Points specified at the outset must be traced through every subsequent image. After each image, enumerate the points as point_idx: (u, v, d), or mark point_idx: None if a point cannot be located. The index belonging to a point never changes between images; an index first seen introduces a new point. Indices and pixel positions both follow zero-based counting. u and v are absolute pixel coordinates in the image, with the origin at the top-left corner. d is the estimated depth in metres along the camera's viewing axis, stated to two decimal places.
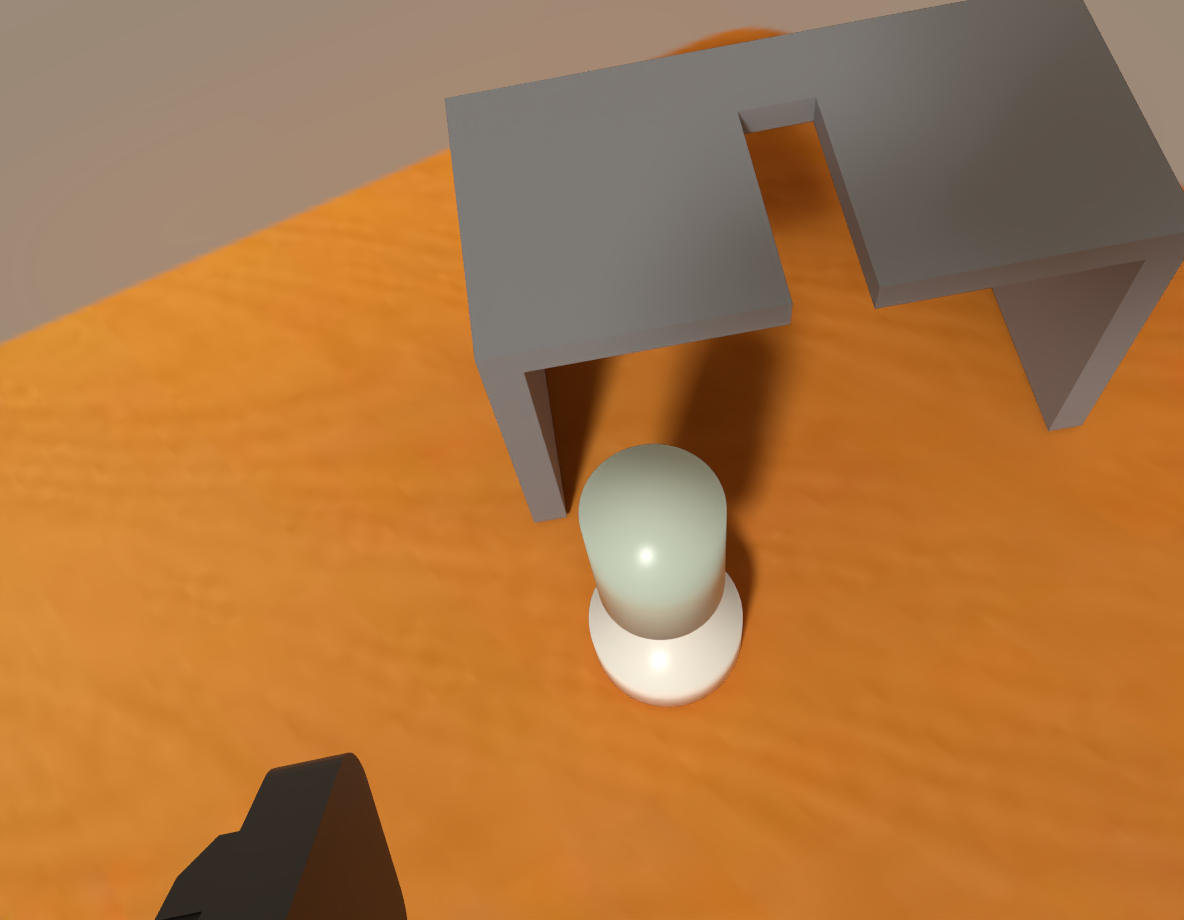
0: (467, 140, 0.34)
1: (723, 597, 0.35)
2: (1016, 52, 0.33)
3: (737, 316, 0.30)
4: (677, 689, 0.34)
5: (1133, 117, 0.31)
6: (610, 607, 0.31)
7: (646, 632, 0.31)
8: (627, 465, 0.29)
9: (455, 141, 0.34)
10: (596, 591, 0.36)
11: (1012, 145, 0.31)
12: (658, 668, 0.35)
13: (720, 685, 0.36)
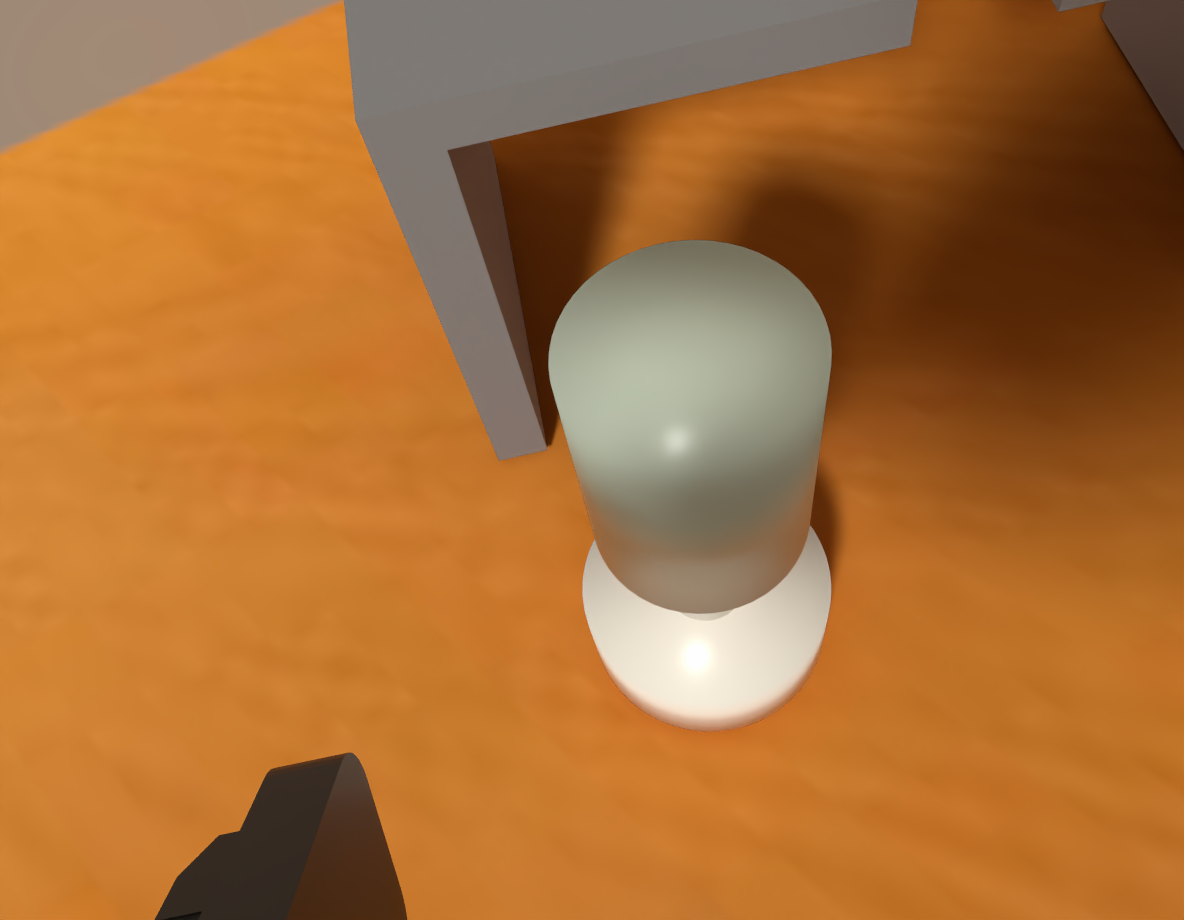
0: None
1: None
2: None
3: (820, 23, 0.17)
4: (732, 701, 0.21)
5: None
6: (616, 557, 0.17)
7: (681, 599, 0.18)
8: (637, 279, 0.15)
9: None
10: (593, 551, 0.23)
11: None
12: (698, 668, 0.21)
13: None
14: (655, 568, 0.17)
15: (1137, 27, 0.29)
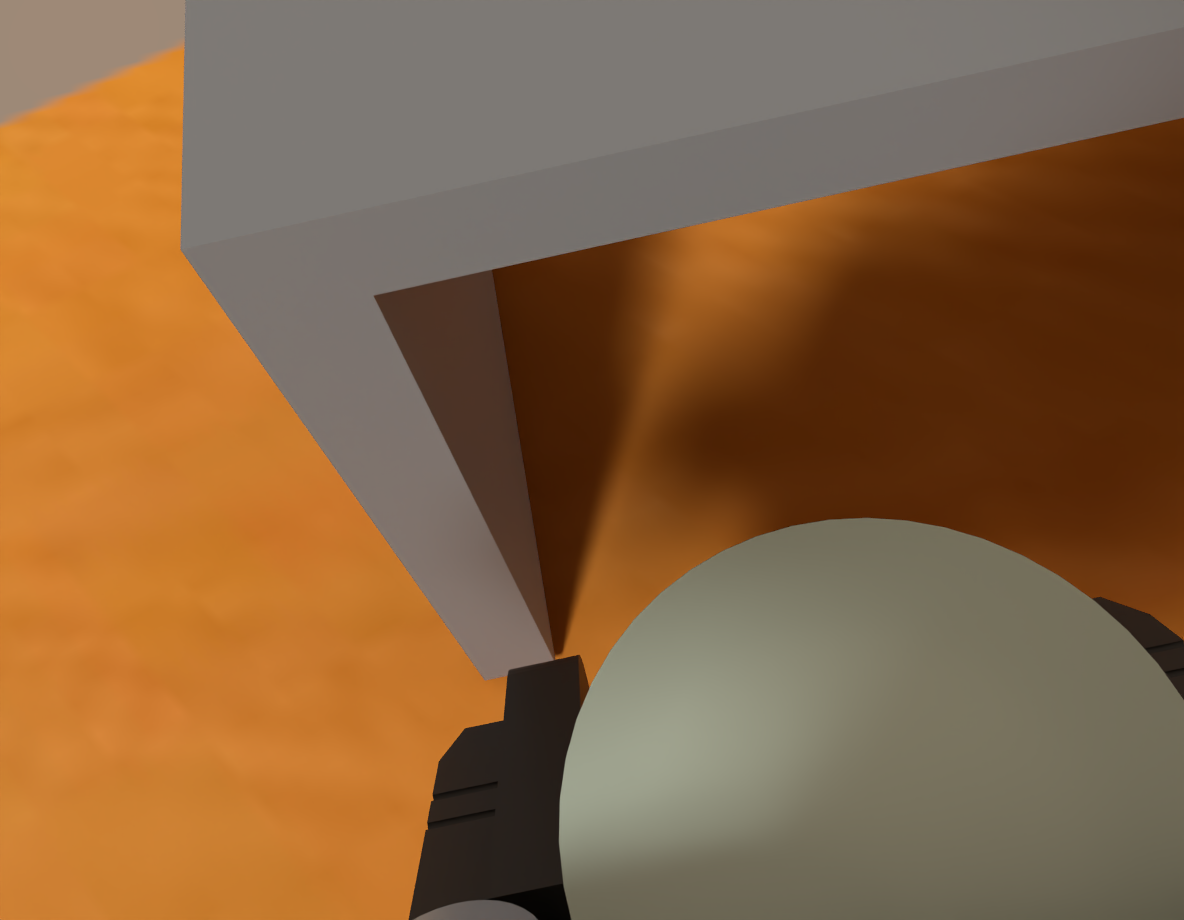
0: None
1: None
2: None
3: (1119, 57, 0.08)
4: None
5: None
6: None
7: None
8: (751, 613, 0.07)
9: None
10: None
11: None
12: None
13: None
14: None
15: None
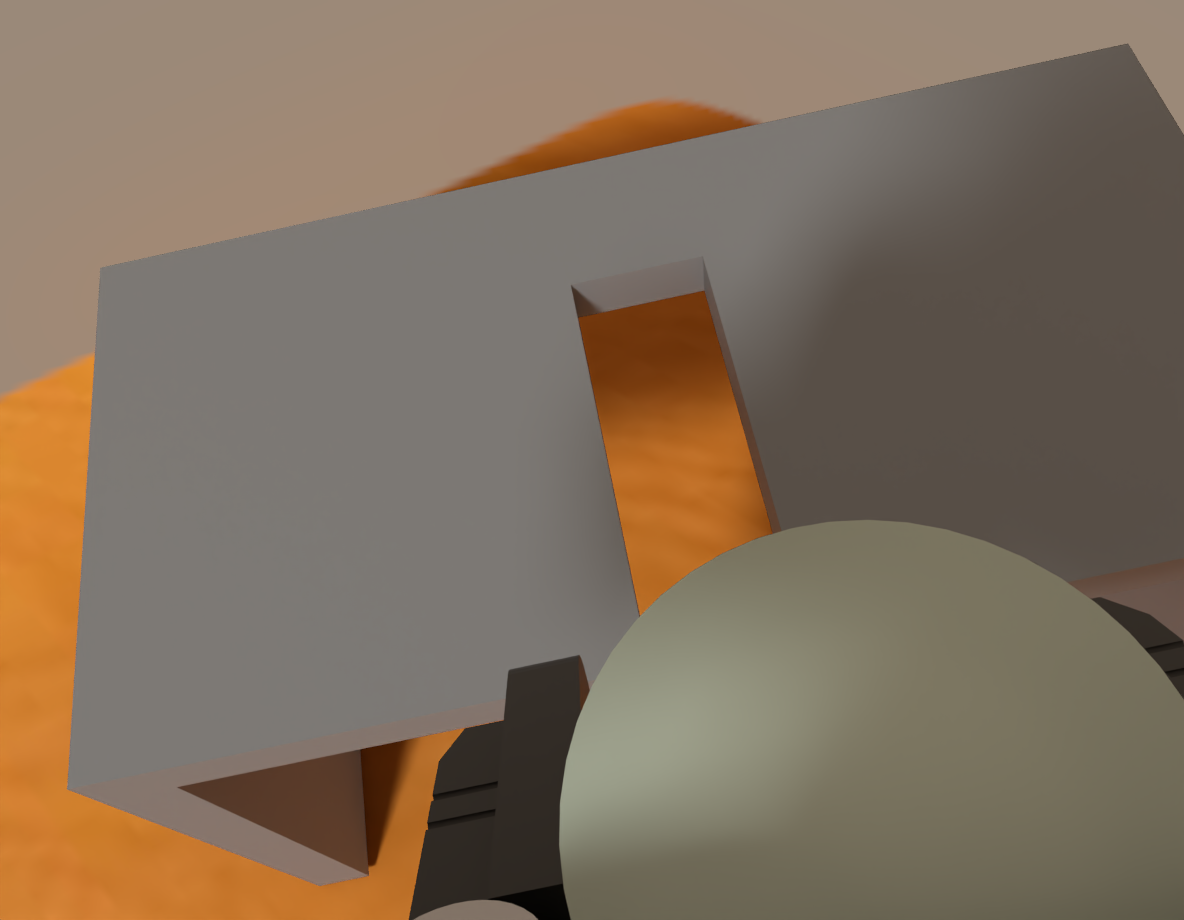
0: (124, 343, 0.20)
1: None
2: (1041, 170, 0.19)
3: None
4: None
5: None
6: None
7: None
8: (751, 615, 0.07)
9: (104, 345, 0.20)
10: None
11: (1044, 343, 0.18)
12: None
13: None
14: None
15: None
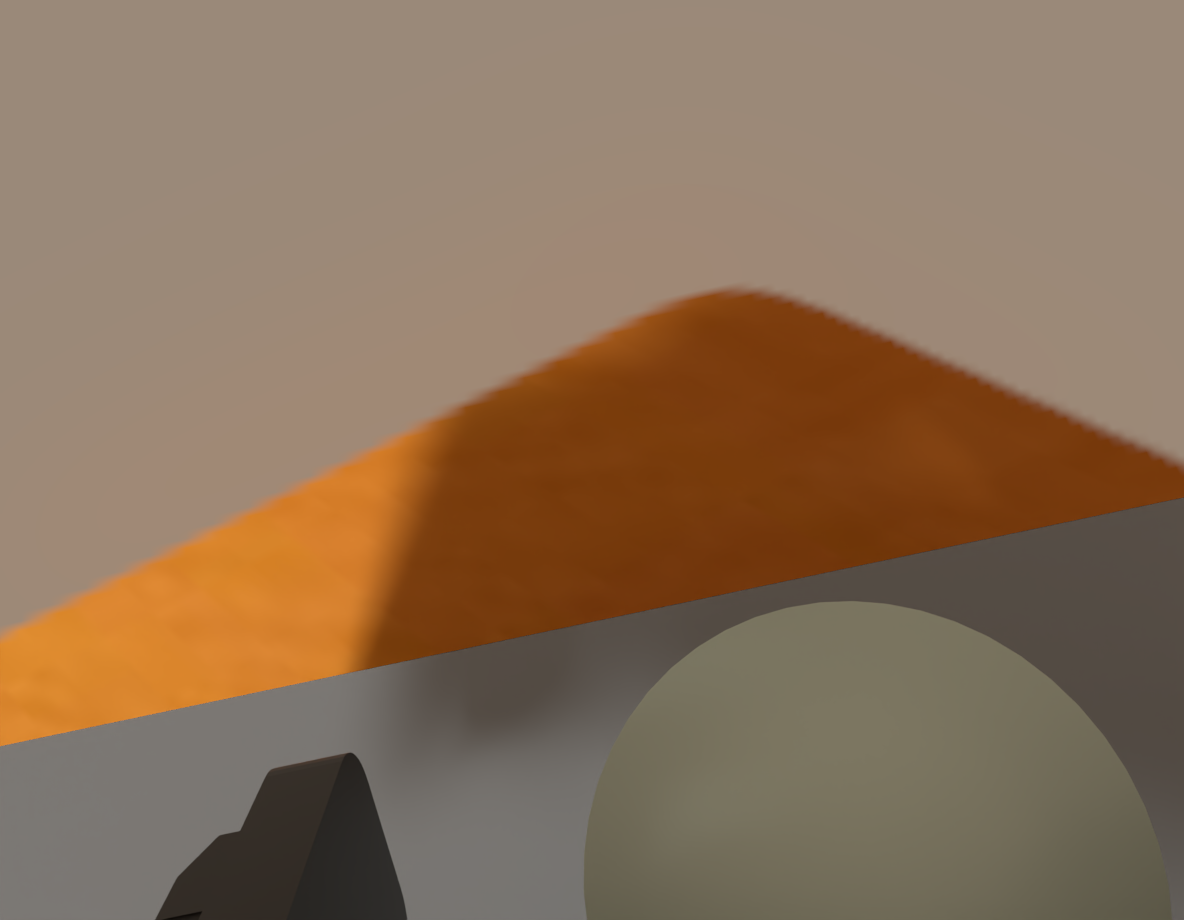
0: None
1: None
2: None
3: None
4: None
5: None
6: None
7: None
8: (750, 687, 0.08)
9: None
10: None
11: None
12: None
13: None
14: None
15: None
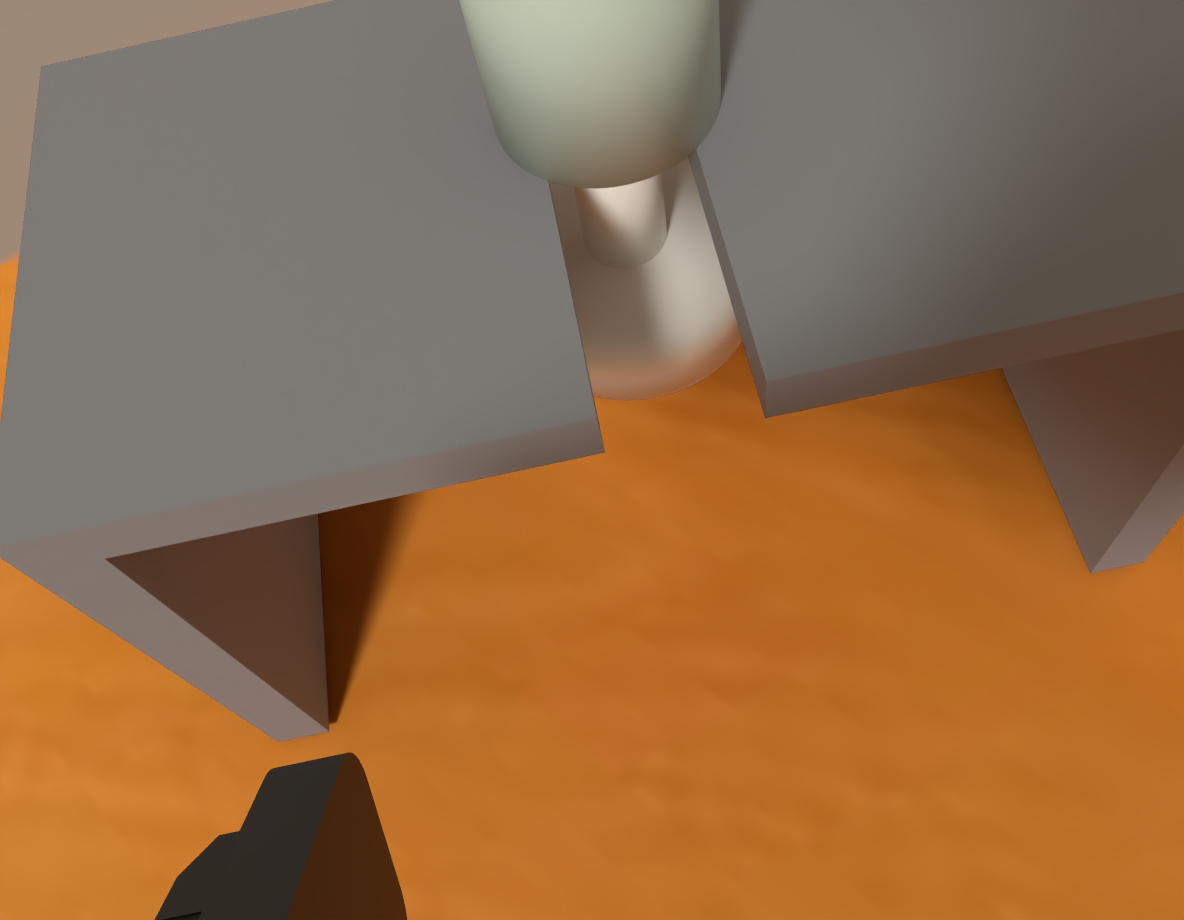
0: (62, 134, 0.19)
1: None
2: None
3: (493, 445, 0.15)
4: (650, 337, 0.20)
5: None
6: (508, 111, 0.16)
7: (579, 160, 0.17)
8: None
9: (42, 136, 0.19)
10: None
11: (1015, 103, 0.17)
12: (615, 310, 0.20)
13: (725, 360, 0.22)
14: (545, 104, 0.16)
15: None
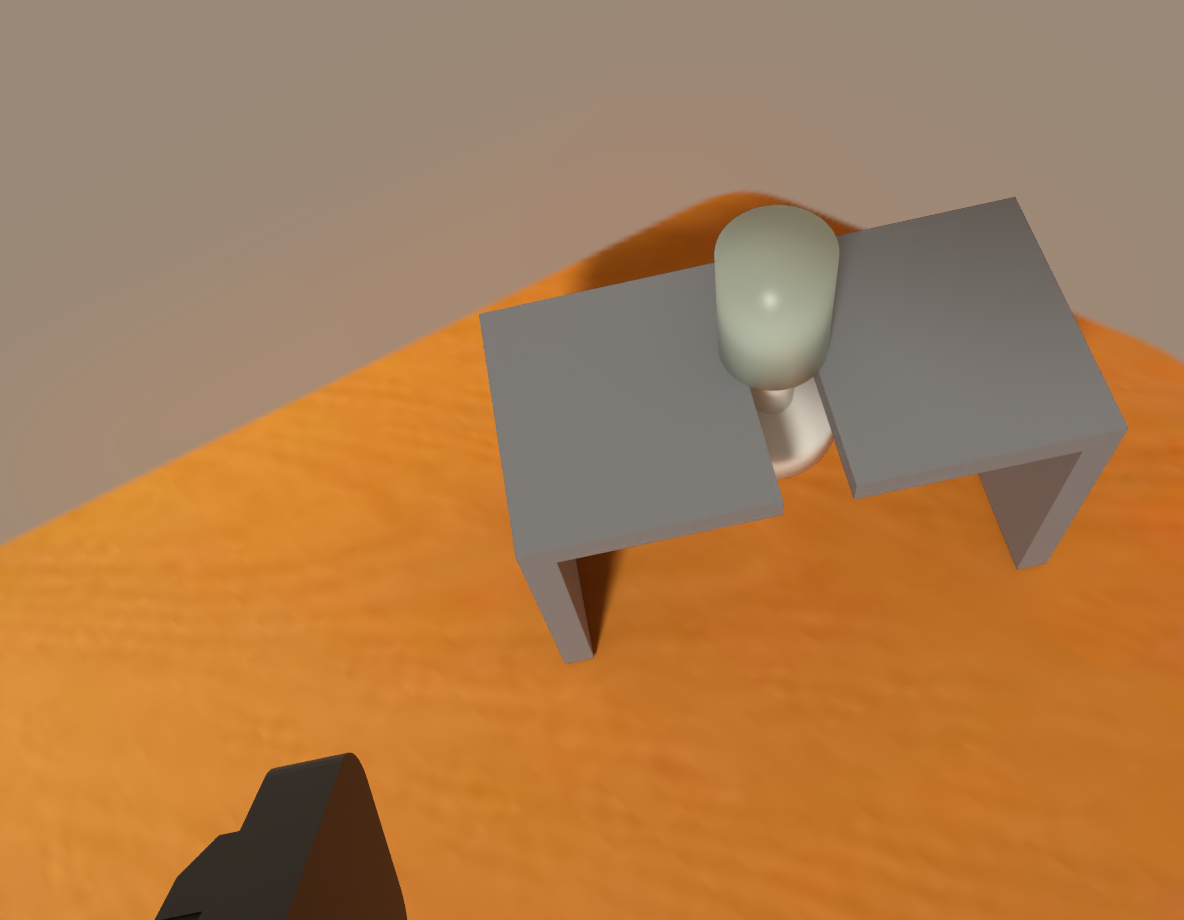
0: (500, 353, 0.39)
1: None
2: (968, 265, 0.38)
3: (737, 512, 0.35)
4: (788, 451, 0.40)
5: (1068, 325, 0.37)
6: (736, 359, 0.36)
7: (767, 380, 0.36)
8: (751, 222, 0.34)
9: (490, 354, 0.39)
10: None
11: (966, 352, 0.37)
12: (769, 436, 0.40)
13: (820, 458, 0.41)
14: (756, 361, 0.36)
15: None
